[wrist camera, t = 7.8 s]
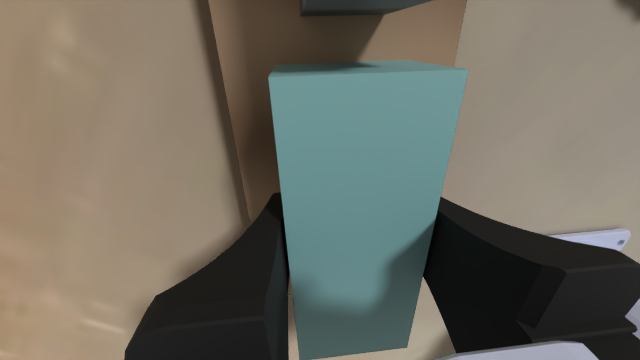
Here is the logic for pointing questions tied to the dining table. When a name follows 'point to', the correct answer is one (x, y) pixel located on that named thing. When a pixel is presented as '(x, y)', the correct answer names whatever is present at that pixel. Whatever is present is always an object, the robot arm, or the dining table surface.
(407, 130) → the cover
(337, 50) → the base
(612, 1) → the dining table surface
